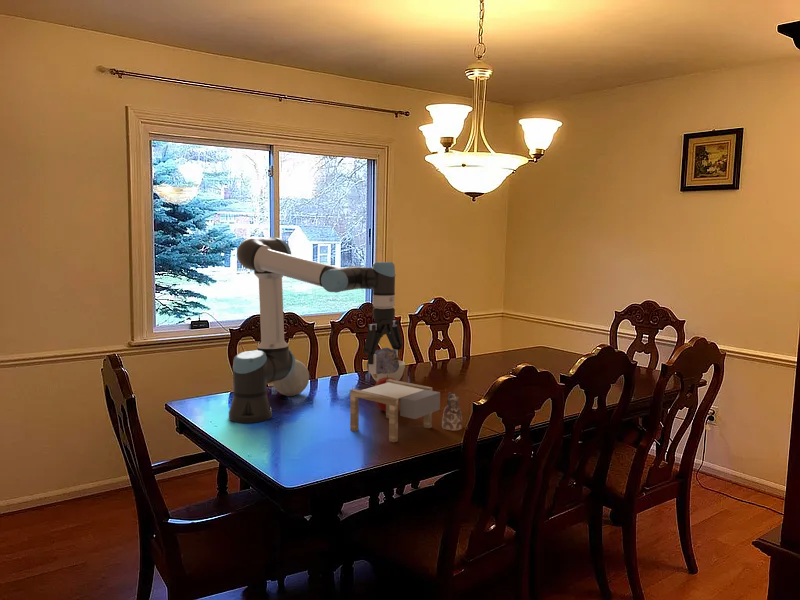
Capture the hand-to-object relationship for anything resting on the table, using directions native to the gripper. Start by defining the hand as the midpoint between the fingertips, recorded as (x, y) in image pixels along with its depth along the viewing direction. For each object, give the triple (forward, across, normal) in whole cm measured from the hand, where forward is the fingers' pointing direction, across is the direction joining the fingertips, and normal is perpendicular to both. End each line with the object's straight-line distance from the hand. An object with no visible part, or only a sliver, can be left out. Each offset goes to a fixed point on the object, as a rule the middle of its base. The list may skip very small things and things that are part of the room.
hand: (383, 370), depth 214 cm
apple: (+20, +16, +11) cm, 28 cm away
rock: (+1, -1, 0) cm, 1 cm away
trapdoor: (+12, 0, -7) cm, 14 cm away
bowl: (+20, +46, +36) cm, 62 cm away
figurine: (+20, +15, -19) cm, 31 cm away
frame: (+20, 0, -4) cm, 20 cm away
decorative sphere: (+20, +7, +55) cm, 59 cm away
